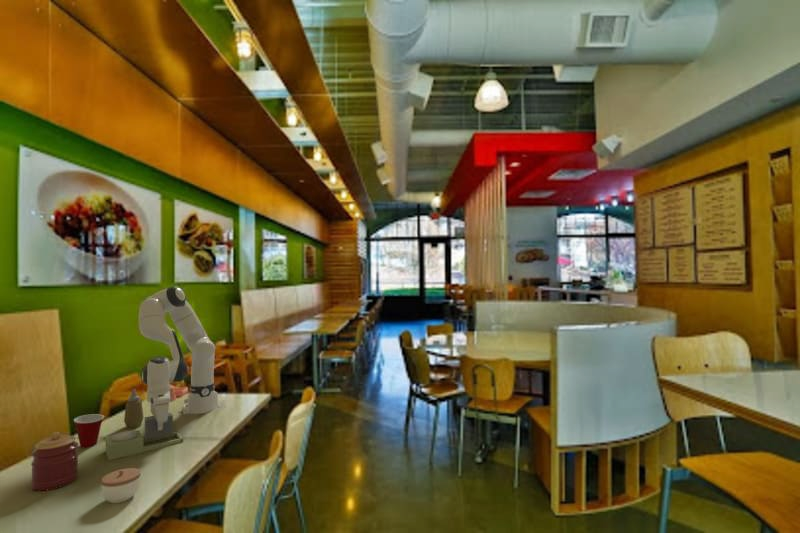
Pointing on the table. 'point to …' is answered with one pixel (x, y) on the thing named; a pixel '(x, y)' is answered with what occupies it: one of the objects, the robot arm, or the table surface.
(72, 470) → the canister
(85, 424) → the plastic cup
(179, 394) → the pottery
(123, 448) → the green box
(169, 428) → the tall grey box
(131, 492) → the lidded jar
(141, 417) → the squeeze bottle
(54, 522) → the table surface
